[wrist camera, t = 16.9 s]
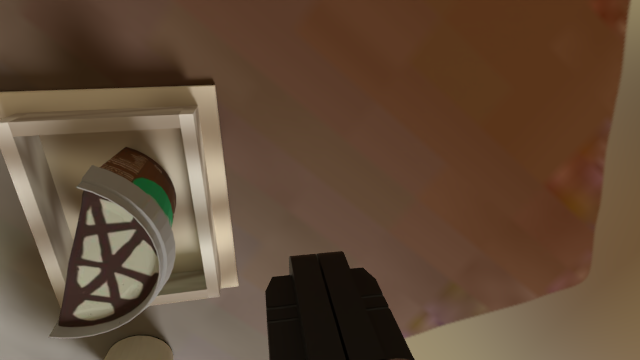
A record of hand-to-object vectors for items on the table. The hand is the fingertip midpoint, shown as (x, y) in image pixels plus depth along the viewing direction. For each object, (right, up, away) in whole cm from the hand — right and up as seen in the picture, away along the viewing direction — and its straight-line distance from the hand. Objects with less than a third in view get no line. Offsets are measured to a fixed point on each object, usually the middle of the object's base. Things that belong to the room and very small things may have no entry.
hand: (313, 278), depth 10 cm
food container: (-15, +1, +22) cm, 26 cm away
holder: (-16, +1, +22) cm, 27 cm away
